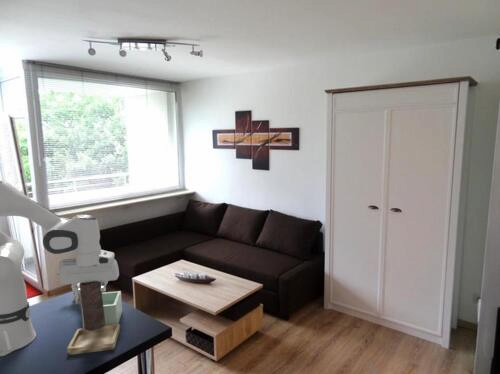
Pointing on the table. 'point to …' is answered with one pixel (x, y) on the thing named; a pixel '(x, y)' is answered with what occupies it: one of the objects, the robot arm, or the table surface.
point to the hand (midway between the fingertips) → (91, 292)
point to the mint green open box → (111, 307)
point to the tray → (94, 340)
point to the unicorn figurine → (76, 294)
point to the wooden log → (92, 306)
